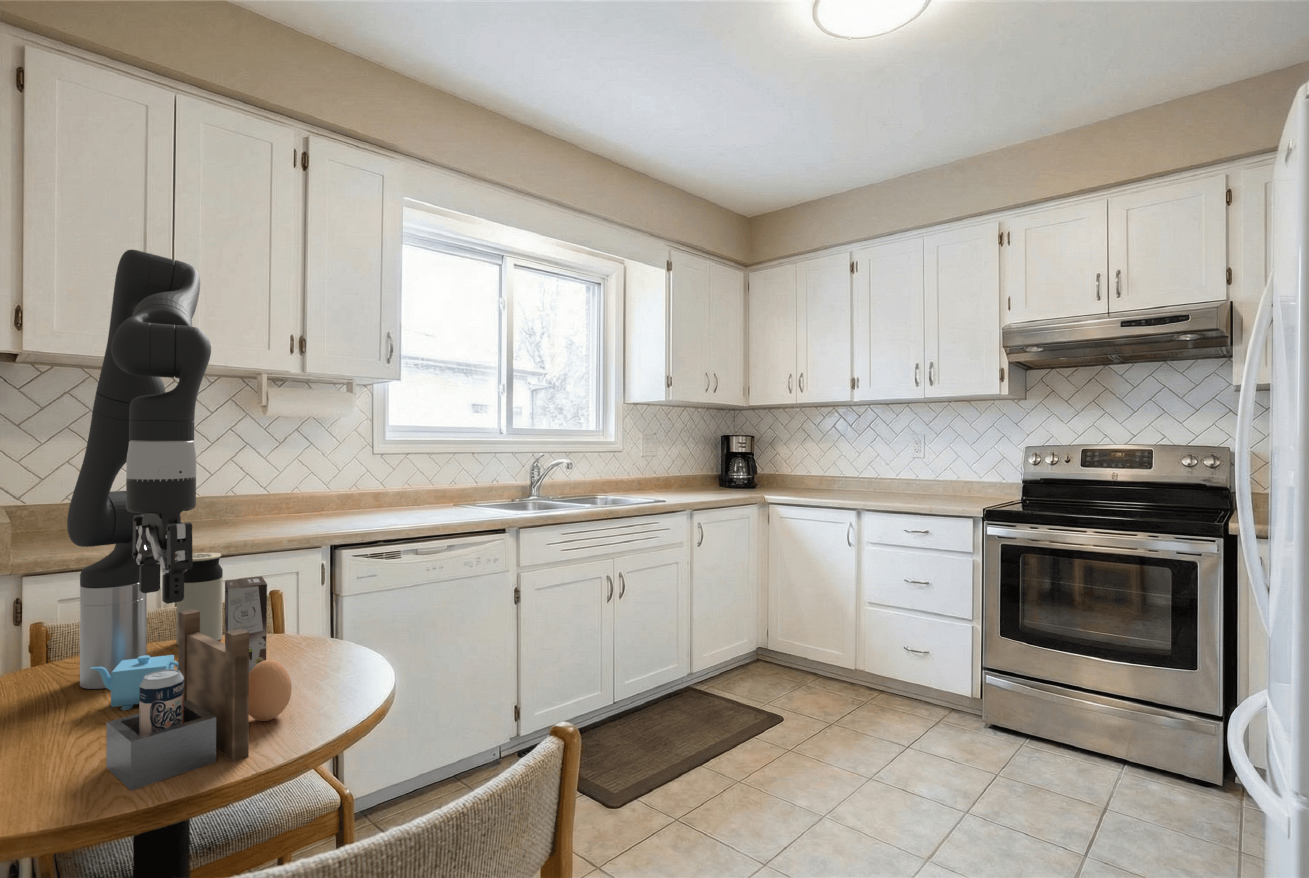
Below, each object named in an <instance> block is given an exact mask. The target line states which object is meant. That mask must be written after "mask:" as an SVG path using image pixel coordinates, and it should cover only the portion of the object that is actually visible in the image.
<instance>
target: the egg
mask: <svg viewBox="0 0 1309 878" xmlns="http://www.w3.org/2000/svg"><path fill="white" fill-rule="evenodd" d="M291 680H292V679H291V677H290V675H289V673H288V671H287V669H286V667H285V666H284V665H283V664H282V663H280V662H279V661H277V660H274V659H266V660H264V661H262V662H260V663H258V664H257V665H256V666H255V667H254V668H253V669H252V670H251V671H250V673H249V716H250V717H251V718H252V719H254V720H256V721H261V722H267V721H271V720H273V719H275V718H277V717H278V716H279V715H281V714H282V713H283V712H284V710H285V709H286V707H287V706H288V705H289V702H290V700H291V697H292V696H291V695H292V689H293V688H292V681H291Z"/></svg>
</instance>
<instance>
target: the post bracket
mask: <svg viewBox="0 0 1309 878" xmlns="http://www.w3.org/2000/svg"><path fill="white" fill-rule="evenodd" d="M105 732H106V742H105V743H106V752H105V756H106V761H105V762H106V764H105V765H106V766H105V767H106V769H107V770H108V771H109V772H110V773H111V774H113V775H114V777H115V778H116V779H118V780H119V781H120V782H121V783H122V784H123V785H124V786H125V787H126V788H127V789H128V790H129V791H131V792H132V791H134V790H137V789H140V788H143V787H146V786H149V785H152V784H154V783H158V782H160V781H164V780H166V779H170V778H172V777H175V776H178V775H181V774H184V773H187V772H191V771H193V770H196V769H200V768H201V767H204V766H207V765H211V764H214V763H216V762H217V749H216V717H215V716H214V715H212V714H210V713H209V712H207V711H206V710H204V709H202V708H201V707H199V706H198V705H196V704H194V703H193V702H191V701H189V700H187V701H184V723H182V724H179V725H176V726H172V727H169V728H165V729H162V730H158V731H155V732H152V733H148V734H145V735H141V736H139V712H138V713H134V714H132V715H127V716H125V717H121V718H116V719H113V720H108V721H106V731H105Z"/></svg>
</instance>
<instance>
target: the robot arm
mask: <svg viewBox="0 0 1309 878" xmlns="http://www.w3.org/2000/svg"><path fill="white" fill-rule="evenodd" d="M116 269H117V270H116V274H115V279H114V280H115V281H114V285H113V295H112V296H113V297H112V302H111V303H112V304H111V313H110V321H109V327H108V329H109V330H108V335H107V342H106V347H105V352H104V357H103V362H102V366H101V368H100V373H99V378H98V382H97V387H96V391H95V396H94V402H93V407H92V411H91V420H90V428H89V431H88V437H87V442H86V448H85V451H84V457H83V459H82V463H81V467H80V471H79V474H78V476H77V480H76V484H75V487H74V490H73V494H72V496H71V500H70V503H69V507H68V513H67V520H66V524H67V525H66V527H67V534H68V537H69V540H70V541H71V542H72V543H73V545H76V546H77V547H83V548H86V547H87V548H88V547H89V548H91V547H100V546H109V545H115V546H114V548H113V550H112V551H111V552H110V553H109V554H108V555H106V556H105V557H103V558H102V559H100V560H98V561H96V562H94V563H92V564H90V565H88V566H87V565H86V566H85V567H84V568H83V569H82V570H80V574H79V686H80V687H81V688H82V689H88V690H91V689H92V690H96V689H98V690H99V689H101V690H102V689H107V688H106V686H105V685H104V682H103V679H102V676H101V674H100V673H99V672H98V671H96V670H94V669H90V668H91V667H104V668H106V669H107V671H108V673H109V675H110V676H111V672H112V671H113V670H114V669H115V668H116V667H117V665H118V664H119V663H120V662H121V661H122V660H130V659H137V658H138V657H140V656H144V655H147V651H148V649H147V646H148V645H147V642H148V641H147V640H148V639H147V632H148V631H147V629H148V628H147V627H148V626H147V620H148V619H147V618H148V617H147V610H148V609H147V606H148V603H147V600H148V597H147V594H149V593H155V592H158V591H160V589H161V592H162V593H161V594H162V597H161V600H162V602H163V603H165V604H173V603H177V602H180V601H182V600H183V599H184V572H186V571H187V569H192V567H193V554H194V553H193V524H192V522H190V521H188V522H182V517H181V513H182V512H188V511H191V510H194V509H195V508H196V506H197V453H196V448H195V447H196V446H195V418H196V417H195V413H196V412H195V411H196V405H197V399H198V395H199V391H200V389H201V388H200V387H201V384H202V383H203V379H204V376H205V373H206V371H207V368H208V365H209V362H210V361H211V360H210V359H211V354H212V346H211V342H210V339H209V338H208V336H207V334H206V333H205V332H204V331H203V330H201V329H200V328H198V327H196V326H193V317H194V315H195V312H196V310H197V306H198V302H199V298H200V296H199V295H200V292H201V291H200V290H201V278H200V273H199V272H198V270H197V269H196V267H194V266H193V265H191V264H189V263H187V262H184V261H180V260H176V259H173V258H168V257H164V256H161V255H158V254H157V255H156V254H152V253H150V252H145V251H141V250H137V249H127V250H125V251H124V253H122V255H121V257H120V259H119V261H118V264H117V268H116ZM162 378H171V379H173V378H174V379H175V378H176V379H178V382H177V384H176V386H175V387H174V388H172V389H171V390H169V391H166V388H165V384H164V381H163V379H162ZM125 464H126V471H125V472H126V473H125V474H126V476H125V478H126V479H125V482H126V483H125V486H126V487H125V490H116V491H115V490H114V491H111V489H112V487H113V485H114V482H115V479H116V478H117V477H118V476H117V475H118V474H119V472H120V471H121V470H122V468H123V467H124V466H125ZM161 572H162V578H161ZM161 580H162V581H161ZM161 582H162V587H161Z"/></svg>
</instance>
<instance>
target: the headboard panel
mask: <svg viewBox="0 0 1309 878" xmlns="http://www.w3.org/2000/svg"><path fill="white" fill-rule="evenodd" d="M177 646H178V647H177V649H178V650H177V651H178V654H177V656H178V657H177V662H178V670H179V671H180V672H181V674H182V675H183V677H184V701H187V700H189V701H191V702H193V703H194V704H196V705H198V706H199V707H201V708H202V709H204V710H206V711H207V712H209V713H210V714H212V715H214V716H215V717H216V751H219V753H222V754H223V755H224V757H225V758H226V759H227V760H229V761H231V762H232V763H234V762H236V761H240V760H241V759H245V758H248V757H249V749H250V746H249V744H250V743H249V742H250V741H249V740H250V739H249V738H250V737H249V735H250V734H249V733H250V729H249V728H250V727H249V723H250V722H249V721H250V719H249V716H250V715H249V632H248V631H246V630H243V629H237V630H233V631H228V632H225V631H224V642H220V640H218V641H217V640H215V639H212V638H210V637H208V636H206V635H204V634H201V633H200V611H197V610H195V609H191V610H185V611H180V612H178V644H177Z"/></svg>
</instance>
